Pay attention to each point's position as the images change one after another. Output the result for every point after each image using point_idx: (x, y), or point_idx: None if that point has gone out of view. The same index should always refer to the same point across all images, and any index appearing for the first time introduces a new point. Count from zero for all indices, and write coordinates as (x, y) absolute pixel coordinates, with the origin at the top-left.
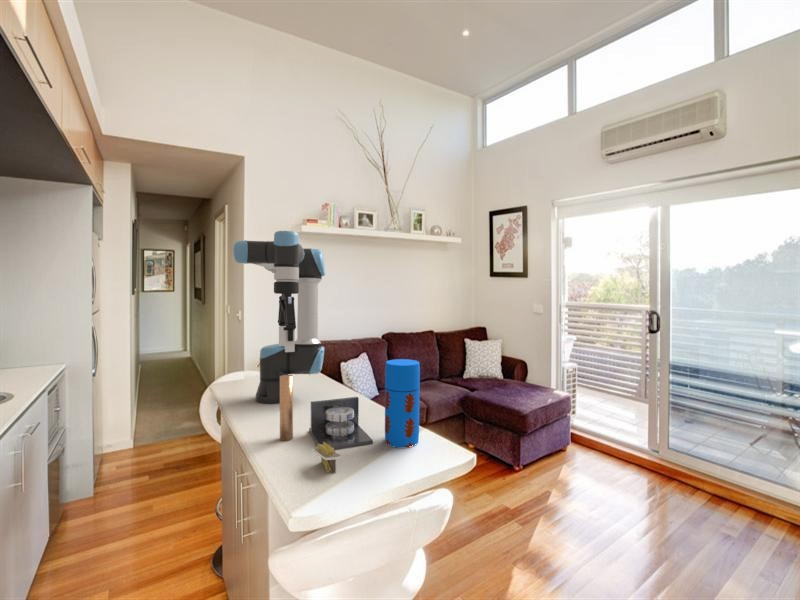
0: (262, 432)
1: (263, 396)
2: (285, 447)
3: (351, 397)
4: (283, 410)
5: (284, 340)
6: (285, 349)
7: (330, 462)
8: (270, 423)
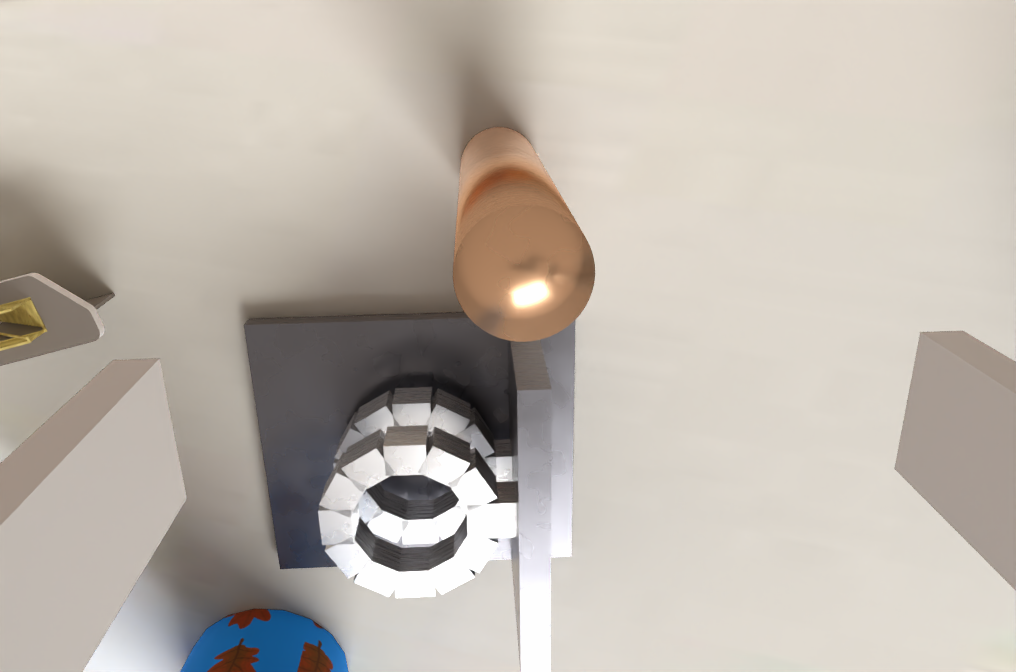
0: (671, 31)
1: None
2: (366, 144)
3: (546, 642)
4: (466, 176)
5: (964, 472)
6: (89, 384)
7: (1, 329)
8: (820, 99)
